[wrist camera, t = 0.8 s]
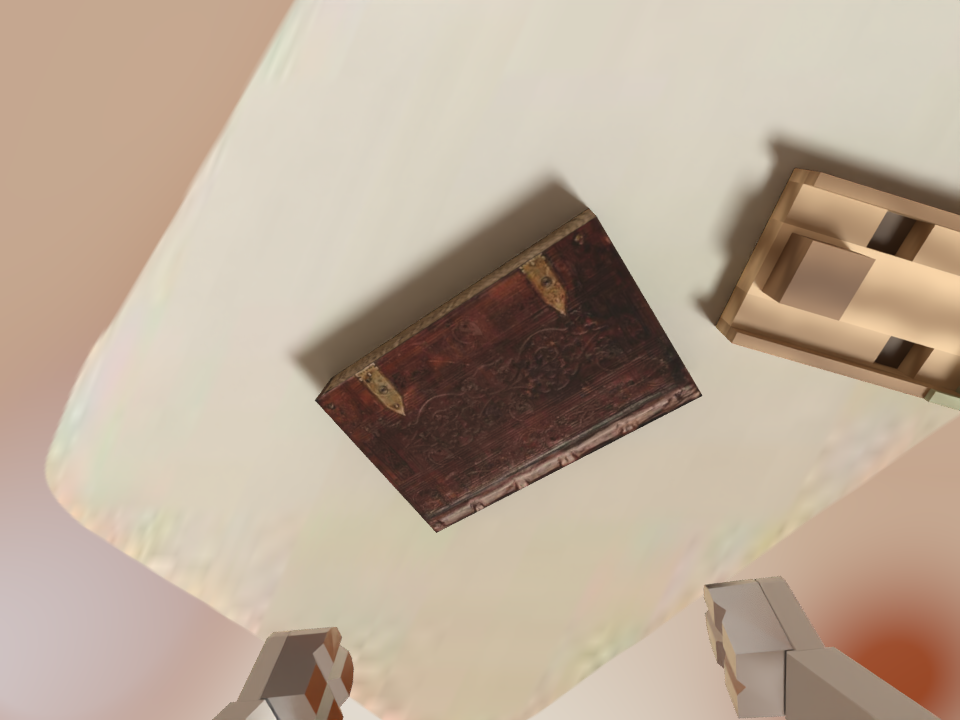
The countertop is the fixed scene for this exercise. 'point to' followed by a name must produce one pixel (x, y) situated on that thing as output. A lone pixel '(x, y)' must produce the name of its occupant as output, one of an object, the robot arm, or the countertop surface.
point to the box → (862, 289)
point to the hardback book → (512, 378)
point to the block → (817, 276)
